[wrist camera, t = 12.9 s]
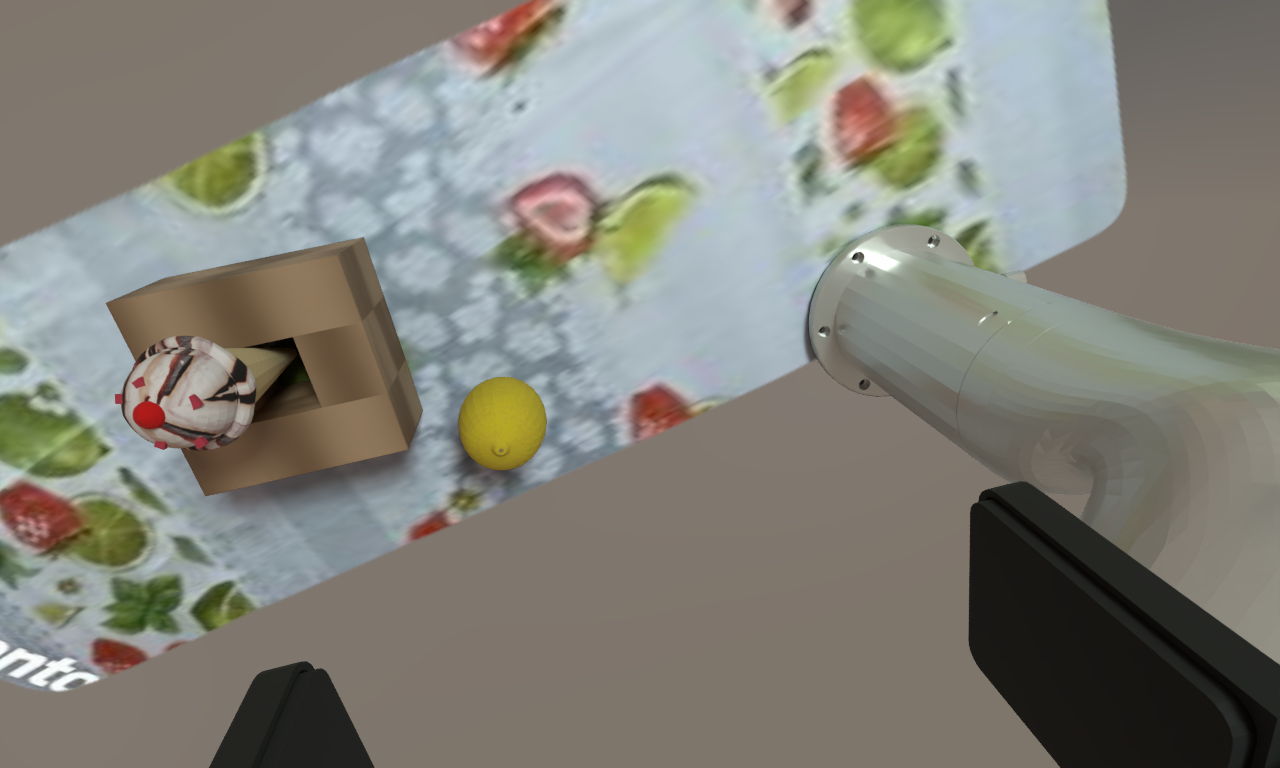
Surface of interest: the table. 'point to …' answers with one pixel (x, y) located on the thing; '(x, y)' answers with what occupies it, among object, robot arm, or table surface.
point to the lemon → (502, 423)
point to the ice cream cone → (198, 391)
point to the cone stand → (327, 342)
